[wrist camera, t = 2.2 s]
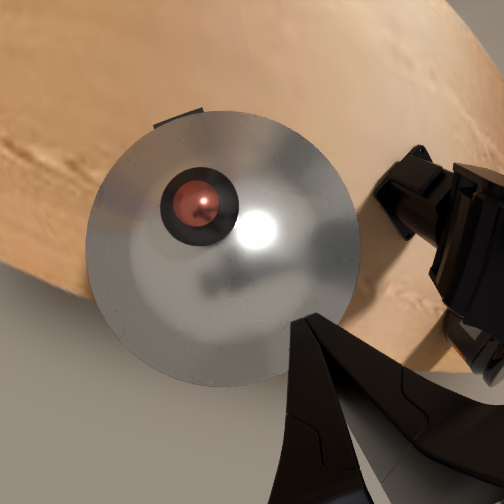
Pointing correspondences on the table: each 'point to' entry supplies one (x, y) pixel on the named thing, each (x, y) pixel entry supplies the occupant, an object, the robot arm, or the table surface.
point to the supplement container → (476, 349)
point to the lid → (220, 246)
